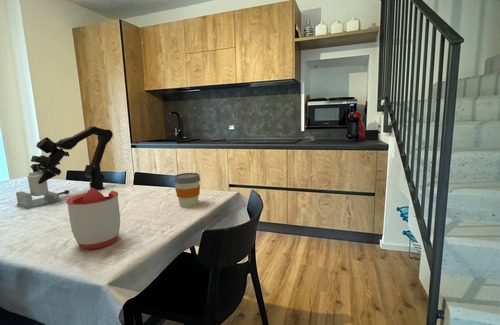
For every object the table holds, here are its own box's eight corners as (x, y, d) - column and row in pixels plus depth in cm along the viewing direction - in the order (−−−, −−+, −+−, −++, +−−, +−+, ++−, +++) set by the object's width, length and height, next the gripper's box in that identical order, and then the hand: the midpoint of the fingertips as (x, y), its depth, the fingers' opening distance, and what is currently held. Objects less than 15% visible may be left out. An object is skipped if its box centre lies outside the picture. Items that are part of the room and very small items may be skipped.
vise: (64, 194, 159) (62, 182, 157) (75, 197, 152) (73, 185, 151) (16, 205, 140) (14, 192, 139) (27, 209, 133) (24, 195, 132)
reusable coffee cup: (195, 209, 127) (193, 178, 124) (171, 208, 129) (169, 177, 127) (205, 201, 139) (203, 172, 136) (182, 200, 141) (180, 172, 139)
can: (52, 193, 142) (48, 171, 140) (36, 197, 136) (31, 174, 133) (43, 191, 145) (39, 170, 143) (27, 195, 139) (23, 173, 136)
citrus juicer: (132, 230, 105) (126, 180, 101) (111, 252, 87) (103, 193, 84) (91, 231, 104) (85, 182, 101) (62, 254, 87) (53, 195, 84)
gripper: (31, 149, 144) (10, 173, 136) (50, 150, 136) (29, 176, 128) (50, 160, 152) (31, 184, 144) (69, 162, 144) (50, 187, 136)
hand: (34, 182), depth 138 cm, fingers closed on can, 7 cm apart
